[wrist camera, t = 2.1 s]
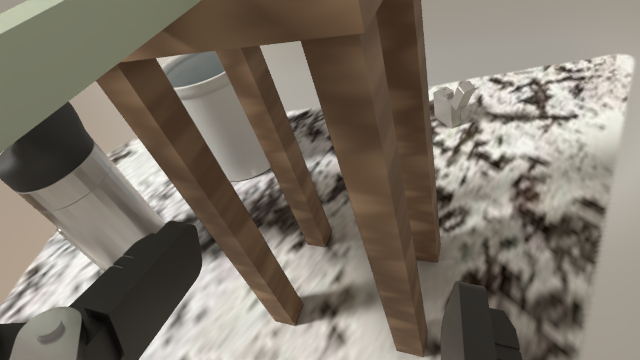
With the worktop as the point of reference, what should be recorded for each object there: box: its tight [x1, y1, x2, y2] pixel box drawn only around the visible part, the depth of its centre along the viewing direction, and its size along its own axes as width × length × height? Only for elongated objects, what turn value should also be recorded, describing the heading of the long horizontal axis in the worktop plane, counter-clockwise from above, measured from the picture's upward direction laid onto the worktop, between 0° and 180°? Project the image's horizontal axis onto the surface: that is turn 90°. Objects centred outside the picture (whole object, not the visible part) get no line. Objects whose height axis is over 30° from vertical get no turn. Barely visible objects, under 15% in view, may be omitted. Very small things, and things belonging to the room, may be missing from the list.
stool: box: [96, 0, 440, 357], centre depth 30 cm, size 16×13×32 cm
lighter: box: [434, 81, 475, 128], centre depth 52 cm, size 7×2×8 cm, turn 22°
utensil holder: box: [161, 51, 271, 181], centre depth 58 cm, size 15×15×18 cm
